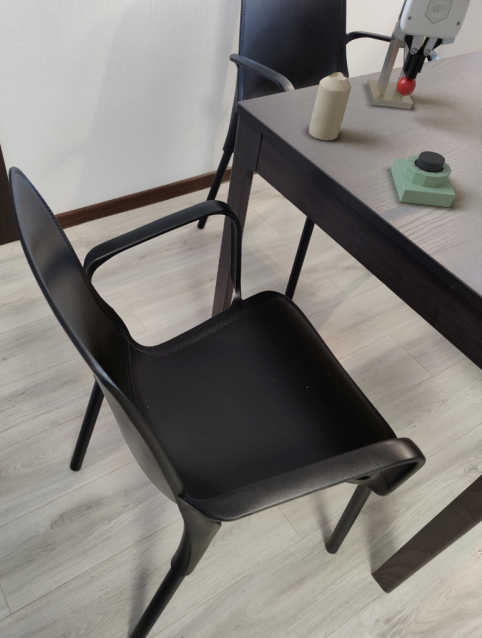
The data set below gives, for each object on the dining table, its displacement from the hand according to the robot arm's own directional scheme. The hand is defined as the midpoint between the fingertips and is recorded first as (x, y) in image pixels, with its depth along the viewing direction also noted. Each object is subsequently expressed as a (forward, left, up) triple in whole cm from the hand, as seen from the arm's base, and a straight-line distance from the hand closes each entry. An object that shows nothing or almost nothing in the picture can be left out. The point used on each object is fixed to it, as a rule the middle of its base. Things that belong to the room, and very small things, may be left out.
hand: (409, 76), depth 94 cm
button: (0, +26, -4) cm, 26 cm away
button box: (0, +26, -8) cm, 27 cm away
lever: (0, -6, -1) cm, 6 cm away
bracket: (0, -10, -8) cm, 13 cm away
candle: (+15, +10, -8) cm, 20 cm away
